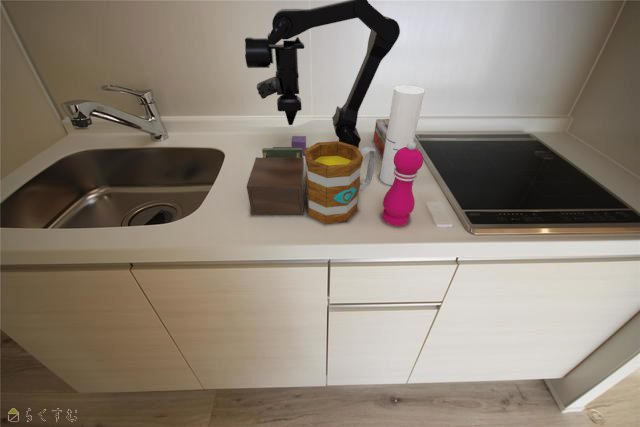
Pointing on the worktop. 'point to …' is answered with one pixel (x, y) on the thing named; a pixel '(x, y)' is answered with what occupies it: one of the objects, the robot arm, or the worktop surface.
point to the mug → (335, 180)
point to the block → (299, 142)
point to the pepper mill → (402, 185)
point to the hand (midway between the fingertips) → (290, 124)
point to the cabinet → (276, 186)
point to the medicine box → (381, 134)
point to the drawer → (282, 152)
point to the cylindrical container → (400, 126)
